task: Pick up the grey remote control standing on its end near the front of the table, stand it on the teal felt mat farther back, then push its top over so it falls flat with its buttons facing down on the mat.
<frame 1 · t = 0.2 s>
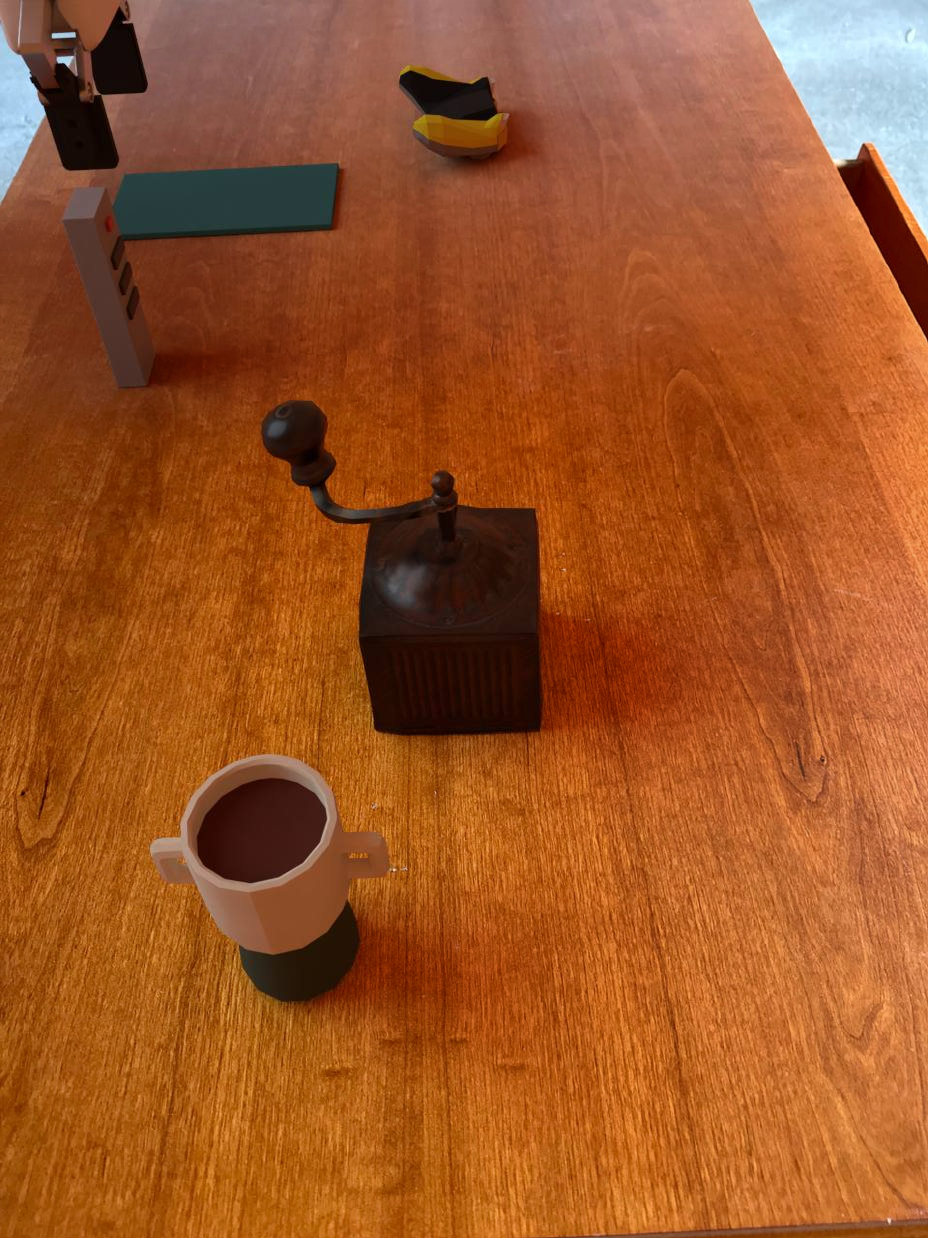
hand: (108, 127, 69), 25 cm above the table, tool pointing down, fingers open, 9 cm apart
remote: (137, 370, 95), on the table
manual coffee grinder: (420, 667, 73), on the table
felt mat: (225, 203, 113), on the table
character mug: (303, 951, 60), on the table
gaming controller: (456, 140, 120), on the table
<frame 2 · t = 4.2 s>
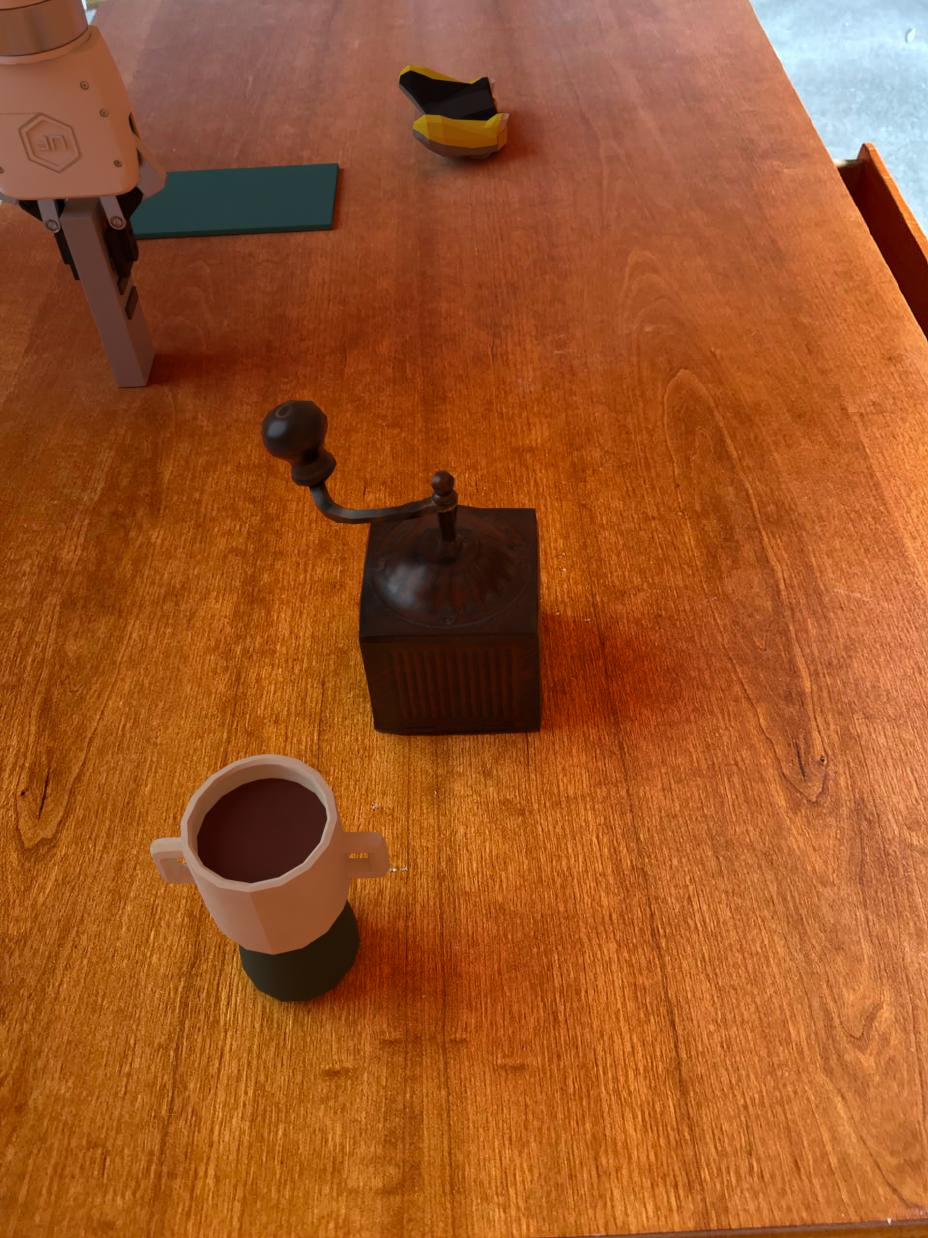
hand: (105, 267, 88), 10 cm above the table, tool pointing down, fingers closed on remote, 2 cm apart
remote: (136, 370, 95), on the table, touching gripper
everything else where it was.
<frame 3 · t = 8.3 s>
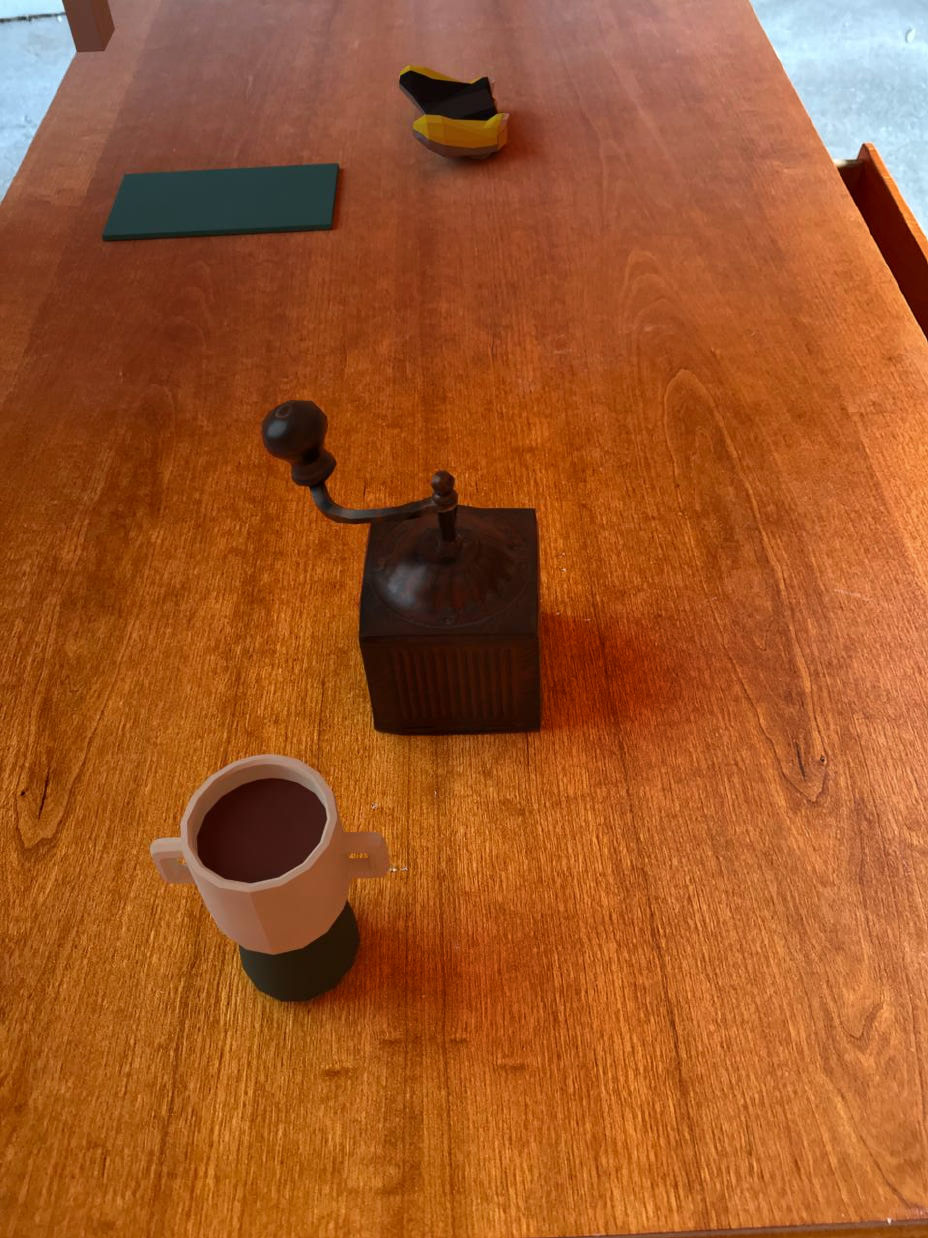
remote: (96, 40, 98), point 17 cm above the table, touching gripper
everything else where it was.
when the fingers open (10 cm above the table, at t = 12.4 s): remote stays where it is, resting on felt mat.
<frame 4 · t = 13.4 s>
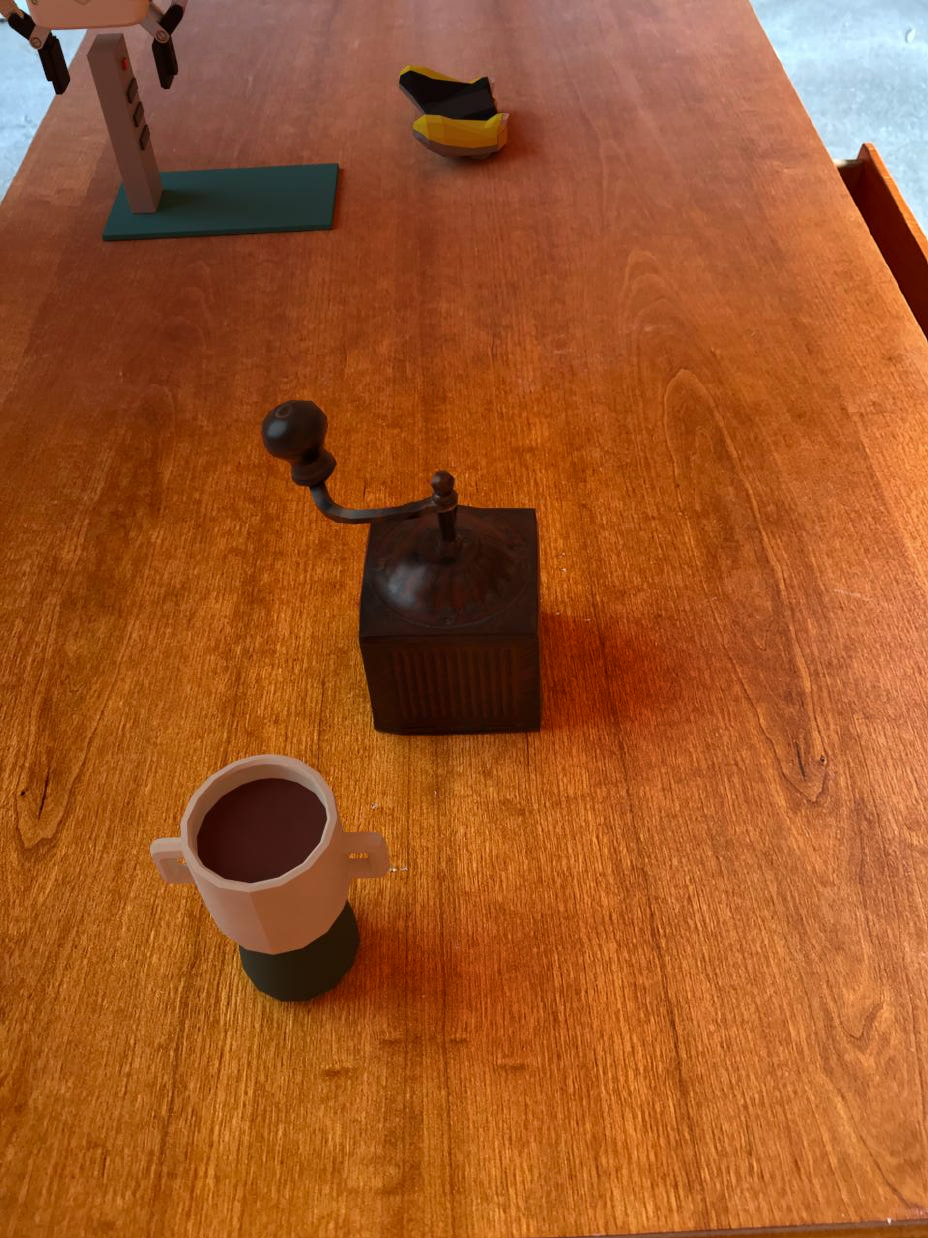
hand: (116, 85, 104), 12 cm above the table, tool pointing down, fingers open, 9 cm apart
remote: (147, 201, 113), point 1 cm above the table, touching felt mat
everything else where it was.
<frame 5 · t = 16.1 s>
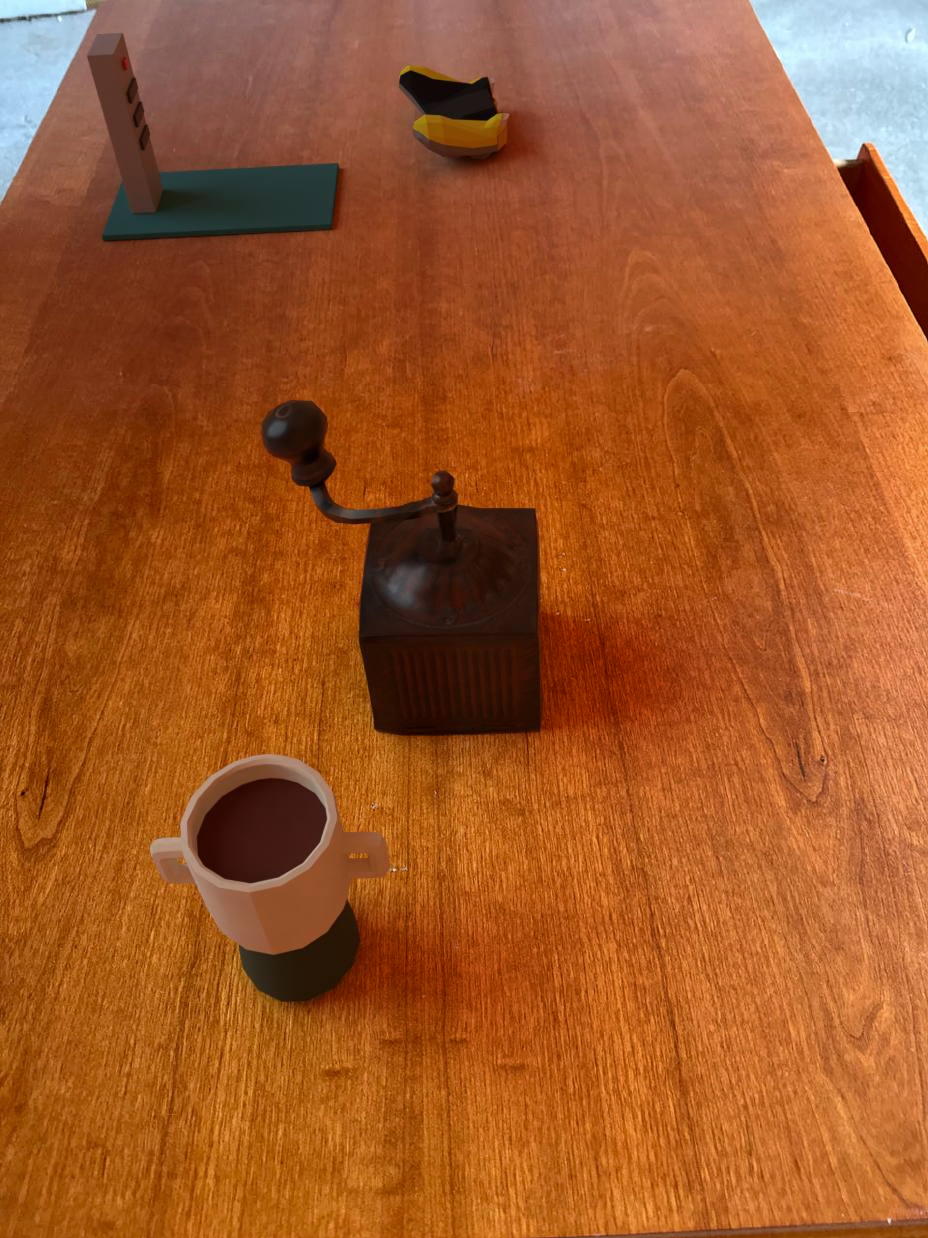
nothing on the table moved.
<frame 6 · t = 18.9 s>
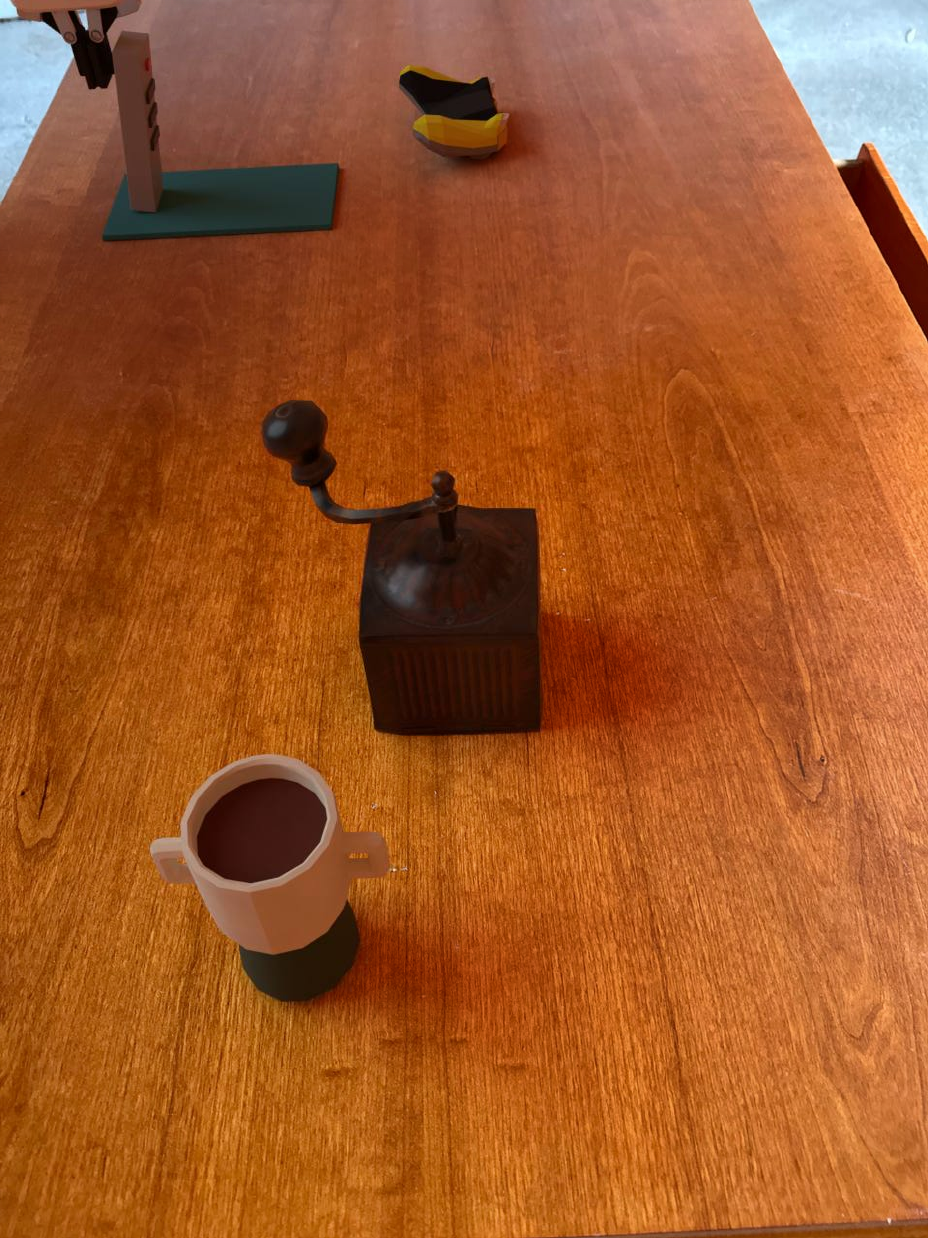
hand: (101, 82, 104), 12 cm above the table, tool pointing down, fingers closed
remote: (147, 199, 113), point 1 cm above the table, tilted 9°, touching felt mat
everything else where it was.
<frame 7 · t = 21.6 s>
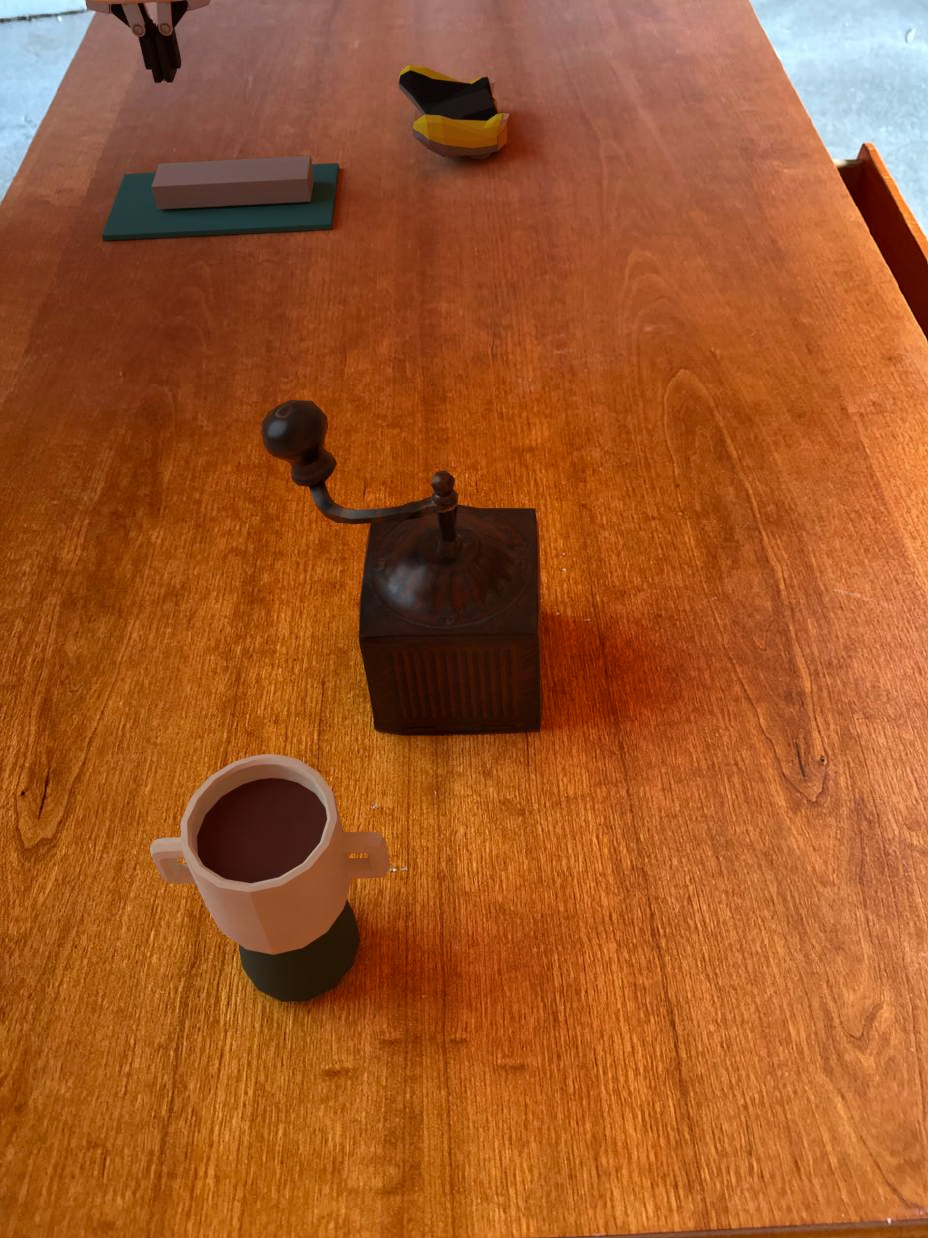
hand: (166, 75, 103), 13 cm above the table, tool pointing down, fingers closed
remote: (158, 186, 111), point 2 cm above the table, tilted 90°, touching felt mat
everything else where it was.
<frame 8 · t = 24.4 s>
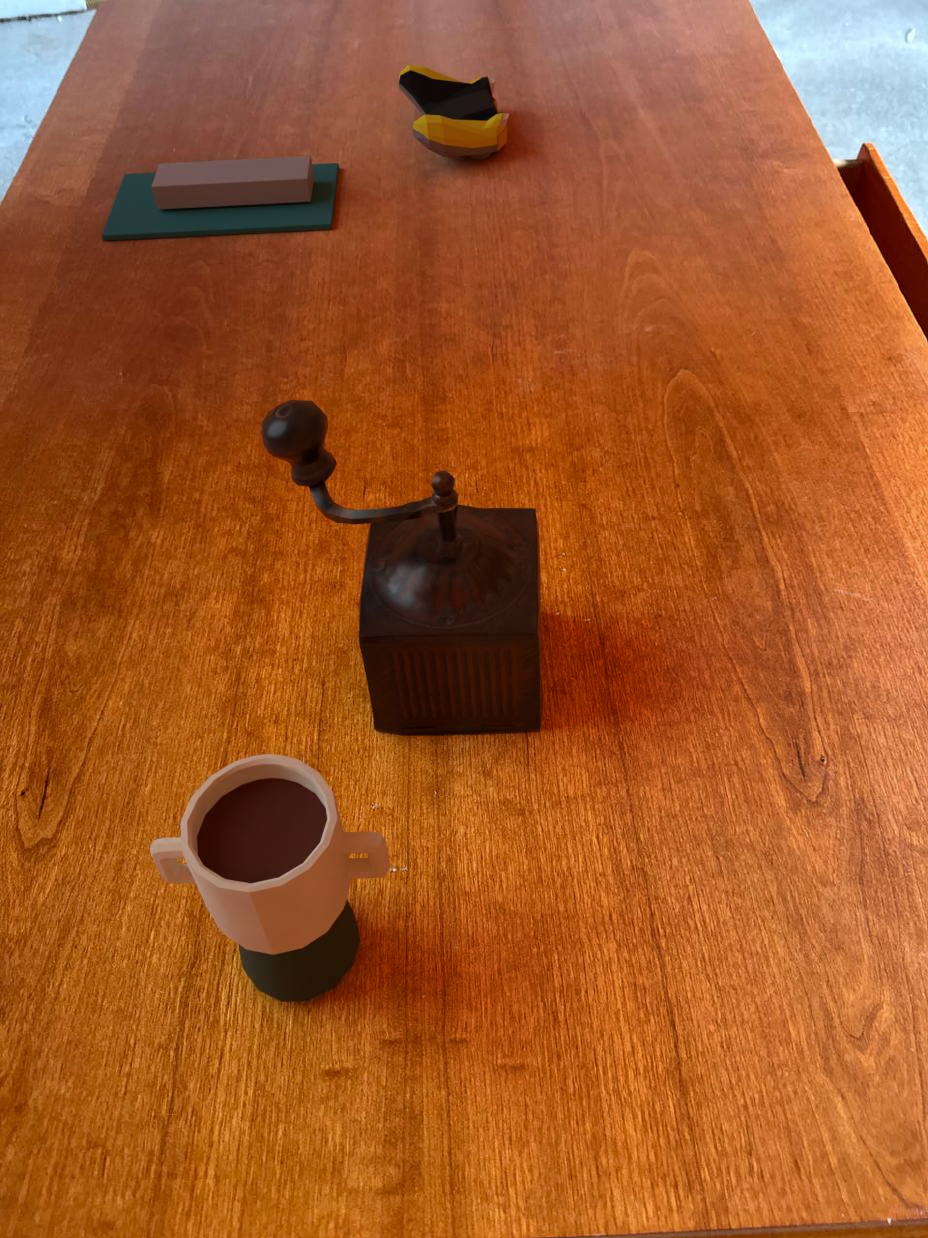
nothing on the table moved.
at the end: remote tilted 90°; remote inside the target area on the felt mat (0.2 cm from its centre), point 2.1 cm above the felt mat's base; the gripper is holding nothing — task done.
